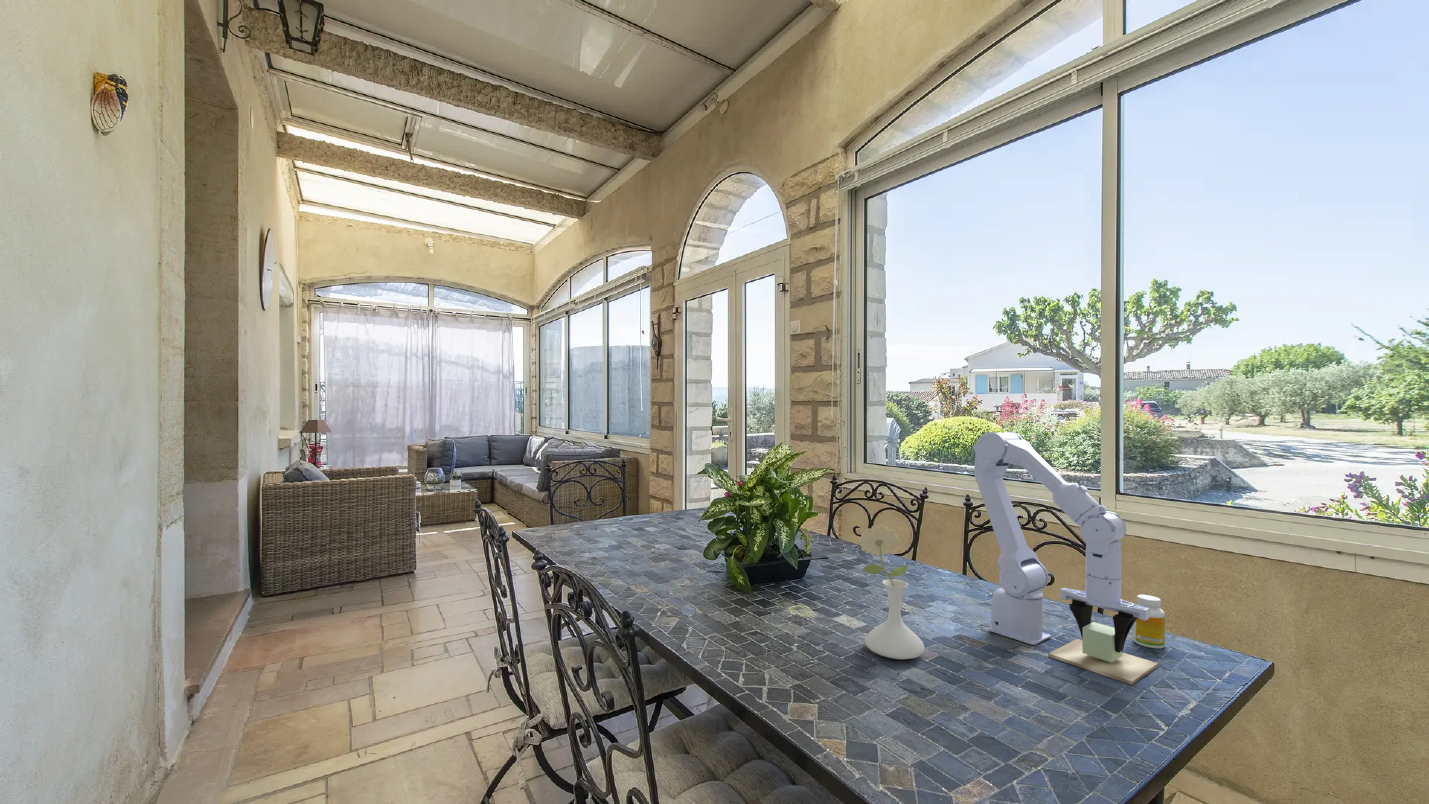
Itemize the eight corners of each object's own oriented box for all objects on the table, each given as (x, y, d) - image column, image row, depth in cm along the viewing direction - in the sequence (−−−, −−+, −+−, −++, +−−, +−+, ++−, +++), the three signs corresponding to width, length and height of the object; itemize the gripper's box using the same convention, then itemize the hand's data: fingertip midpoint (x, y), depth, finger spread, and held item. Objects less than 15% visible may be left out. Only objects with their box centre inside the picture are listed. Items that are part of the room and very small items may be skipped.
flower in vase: (927, 647, 117) (928, 524, 117) (921, 670, 106) (923, 535, 107) (861, 635, 122) (863, 518, 122) (850, 656, 112) (852, 527, 112)
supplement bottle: (1170, 650, 117) (1170, 602, 117) (1140, 647, 118) (1141, 600, 118) (1155, 640, 122) (1156, 594, 122) (1127, 637, 123) (1127, 592, 124)
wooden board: (1048, 656, 113) (1048, 653, 113) (1077, 641, 121) (1077, 638, 121) (1131, 684, 102) (1131, 681, 102) (1157, 666, 110) (1157, 663, 110)
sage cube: (1082, 653, 112) (1082, 627, 112) (1093, 647, 115) (1093, 622, 115) (1111, 662, 108) (1112, 635, 108) (1122, 656, 111) (1122, 630, 111)
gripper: (1053, 569, 115) (1053, 637, 115) (1139, 588, 103) (1138, 664, 103) (1069, 564, 119) (1068, 630, 119) (1153, 582, 107) (1153, 655, 107)
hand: (1102, 645), depth 111 cm, fingers closed on sage cube, 5 cm apart
